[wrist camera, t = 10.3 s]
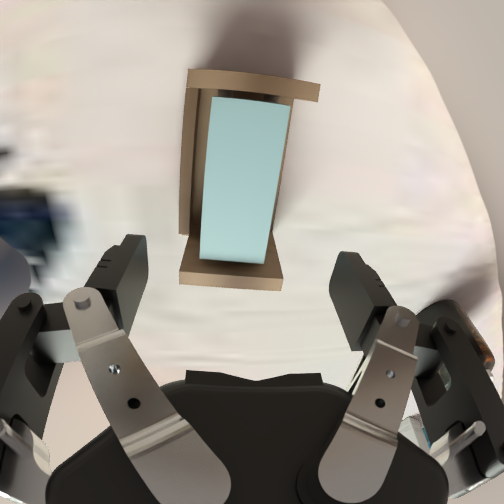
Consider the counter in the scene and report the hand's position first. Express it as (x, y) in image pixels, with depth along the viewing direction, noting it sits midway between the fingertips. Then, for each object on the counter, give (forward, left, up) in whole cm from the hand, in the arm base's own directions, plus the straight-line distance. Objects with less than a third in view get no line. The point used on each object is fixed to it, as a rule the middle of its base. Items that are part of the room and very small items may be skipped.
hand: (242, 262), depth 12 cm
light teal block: (0, 0, -13) cm, 13 cm away
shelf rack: (0, 0, -17) cm, 17 cm away
